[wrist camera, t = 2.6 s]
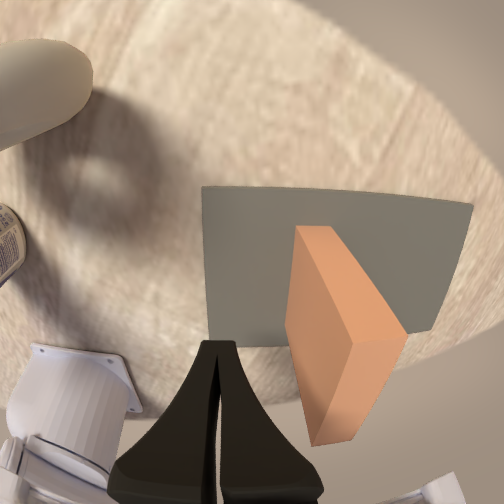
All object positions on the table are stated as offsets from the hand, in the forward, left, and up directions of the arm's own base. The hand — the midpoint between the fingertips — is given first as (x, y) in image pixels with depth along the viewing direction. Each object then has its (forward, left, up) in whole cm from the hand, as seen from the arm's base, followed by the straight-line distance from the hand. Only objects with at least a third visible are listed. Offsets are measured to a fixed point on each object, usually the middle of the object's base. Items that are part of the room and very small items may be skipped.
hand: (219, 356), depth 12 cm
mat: (+8, 0, -6) cm, 10 cm away
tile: (+5, 0, -6) cm, 8 cm away
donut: (-10, +11, -7) cm, 16 cm away
